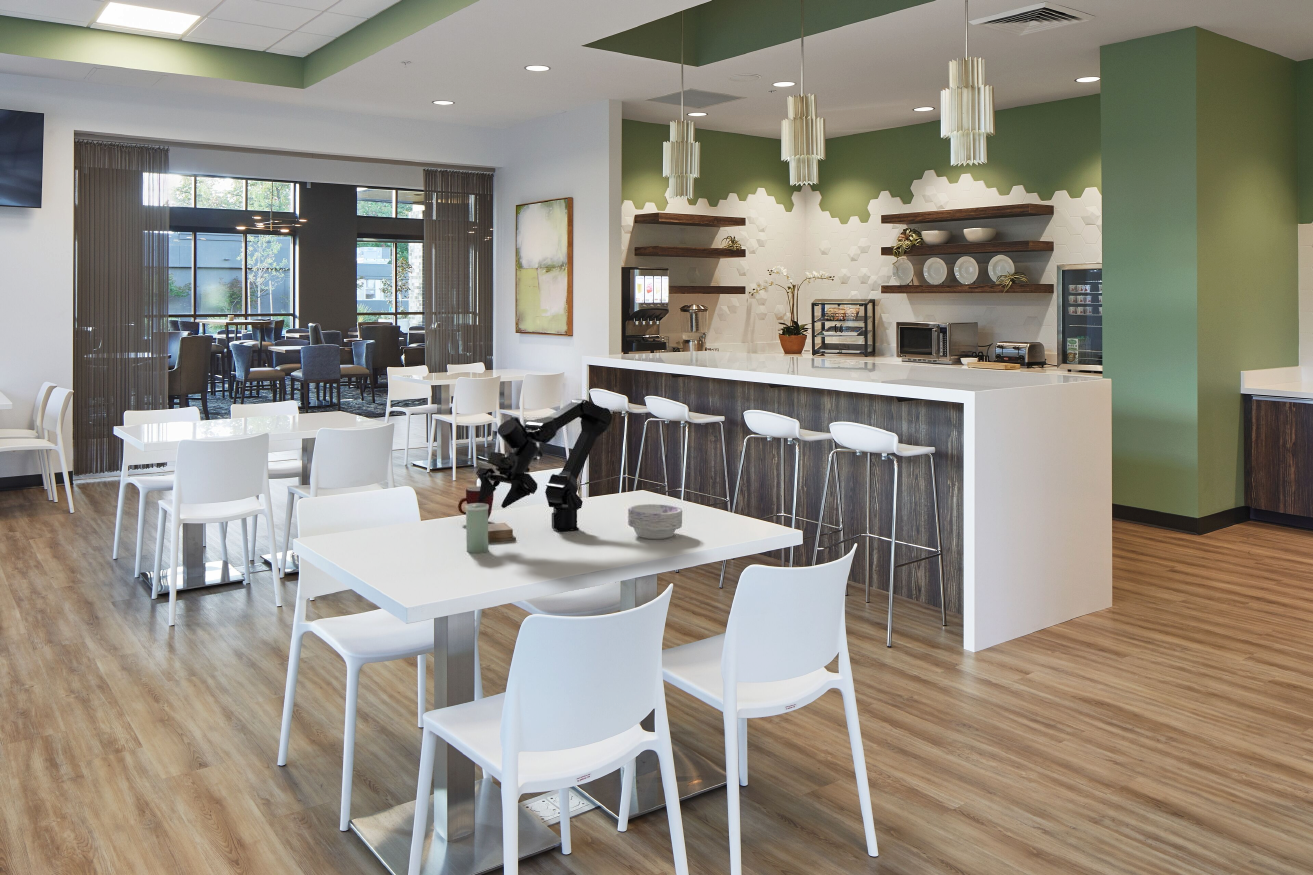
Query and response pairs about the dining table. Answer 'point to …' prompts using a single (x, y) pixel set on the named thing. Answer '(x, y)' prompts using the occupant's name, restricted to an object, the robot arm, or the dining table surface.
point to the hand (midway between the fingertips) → (490, 504)
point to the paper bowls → (654, 520)
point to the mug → (475, 499)
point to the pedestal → (500, 533)
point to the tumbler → (477, 527)
